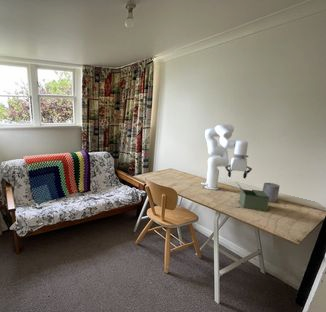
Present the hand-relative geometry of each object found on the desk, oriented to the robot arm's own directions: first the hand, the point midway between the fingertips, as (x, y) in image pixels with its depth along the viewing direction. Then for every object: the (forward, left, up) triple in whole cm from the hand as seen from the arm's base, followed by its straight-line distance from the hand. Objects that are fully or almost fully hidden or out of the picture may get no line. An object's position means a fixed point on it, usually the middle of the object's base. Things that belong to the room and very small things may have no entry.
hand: (236, 177), depth 151 cm
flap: (+4, 0, -8) cm, 9 cm away
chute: (+12, 0, -22) cm, 25 cm away
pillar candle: (+28, +19, -22) cm, 41 cm away
